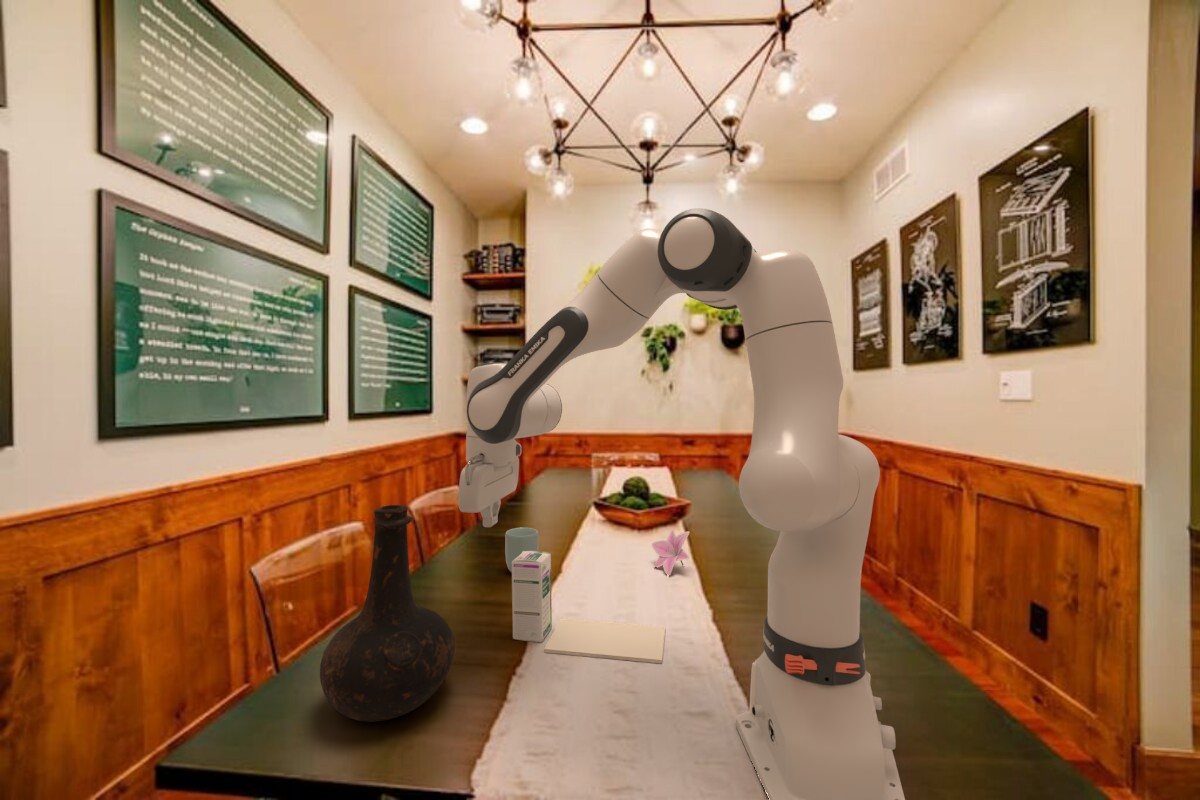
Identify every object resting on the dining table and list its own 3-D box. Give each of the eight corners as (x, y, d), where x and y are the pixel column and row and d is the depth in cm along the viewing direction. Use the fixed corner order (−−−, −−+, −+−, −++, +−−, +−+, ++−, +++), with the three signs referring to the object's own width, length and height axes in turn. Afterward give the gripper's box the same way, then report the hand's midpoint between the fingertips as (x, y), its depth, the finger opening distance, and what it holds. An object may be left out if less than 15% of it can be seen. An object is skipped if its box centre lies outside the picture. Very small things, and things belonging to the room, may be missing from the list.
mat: (662, 663, 84) (662, 660, 84) (544, 652, 88) (544, 648, 88) (665, 629, 96) (665, 626, 96) (561, 621, 100) (561, 617, 100)
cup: (544, 570, 127) (544, 530, 127) (523, 580, 121) (523, 537, 120) (520, 564, 131) (520, 525, 131) (498, 573, 125) (498, 532, 125)
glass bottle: (325, 762, 62) (323, 531, 61) (316, 688, 77) (314, 502, 76) (470, 713, 71) (470, 512, 71) (437, 656, 86) (436, 490, 86)
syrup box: (542, 643, 91) (542, 561, 91) (511, 639, 92) (511, 559, 92) (552, 628, 97) (552, 551, 96) (522, 625, 98) (522, 549, 97)
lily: (652, 563, 136) (640, 535, 132) (693, 546, 136) (682, 518, 132) (663, 594, 125) (651, 565, 121) (708, 575, 125) (697, 545, 121)
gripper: (484, 459, 84) (484, 543, 85) (524, 445, 104) (523, 512, 105) (448, 458, 85) (448, 540, 86) (494, 444, 105) (494, 511, 106)
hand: (490, 525), depth 95 cm, fingers closed
